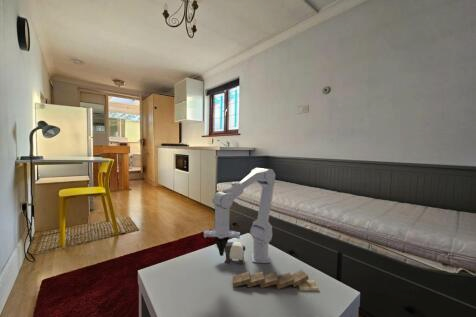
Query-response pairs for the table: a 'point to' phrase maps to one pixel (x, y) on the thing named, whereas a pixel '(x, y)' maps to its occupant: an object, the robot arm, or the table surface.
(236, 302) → the table surface
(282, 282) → the d4
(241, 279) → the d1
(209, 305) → the table surface
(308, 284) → the maple tile
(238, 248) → the giant panda
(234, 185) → the robot arm
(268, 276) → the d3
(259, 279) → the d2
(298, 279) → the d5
